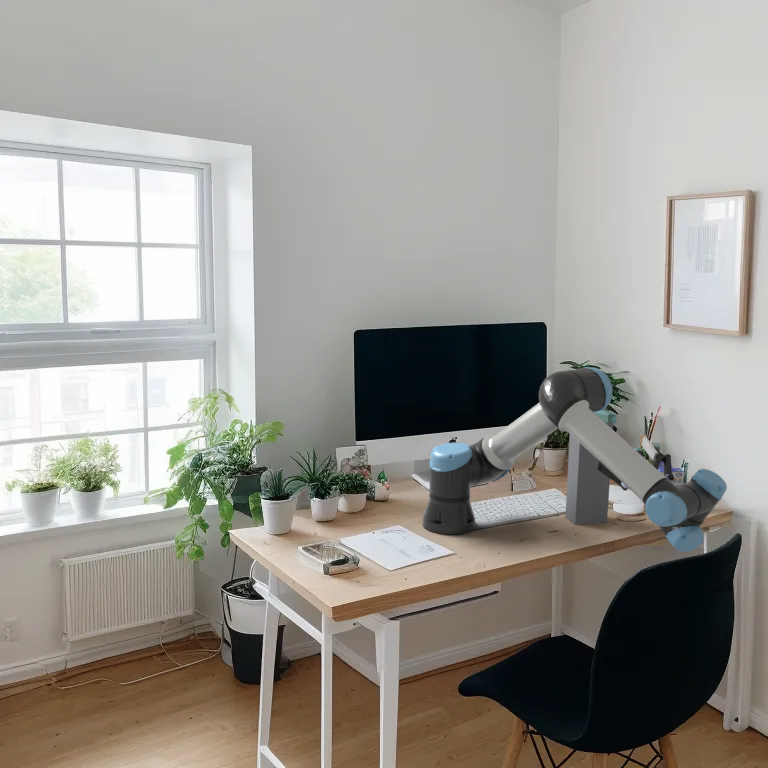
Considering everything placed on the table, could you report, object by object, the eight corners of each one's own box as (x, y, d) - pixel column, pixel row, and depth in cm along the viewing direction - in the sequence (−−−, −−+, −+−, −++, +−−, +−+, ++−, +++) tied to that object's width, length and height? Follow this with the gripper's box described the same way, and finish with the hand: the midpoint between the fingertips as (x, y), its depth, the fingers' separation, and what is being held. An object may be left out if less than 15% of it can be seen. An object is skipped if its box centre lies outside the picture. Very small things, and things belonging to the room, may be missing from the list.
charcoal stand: (575, 524, 228) (581, 417, 223) (565, 516, 235) (571, 412, 230) (607, 522, 230) (613, 416, 225) (596, 515, 237) (602, 411, 232)
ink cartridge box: (676, 504, 249) (679, 460, 247) (682, 509, 243) (686, 464, 241) (645, 503, 249) (648, 459, 247) (650, 509, 244) (654, 464, 241)
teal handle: (601, 423, 215) (603, 402, 214) (577, 412, 230) (578, 392, 229) (622, 423, 216) (623, 401, 215) (596, 411, 231) (597, 391, 231)
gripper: (608, 514, 193) (574, 457, 210) (699, 503, 198) (659, 449, 215) (616, 491, 189) (580, 436, 206) (708, 481, 194) (666, 428, 211)
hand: (620, 443), depth 210 cm, fingers open, 13 cm apart
